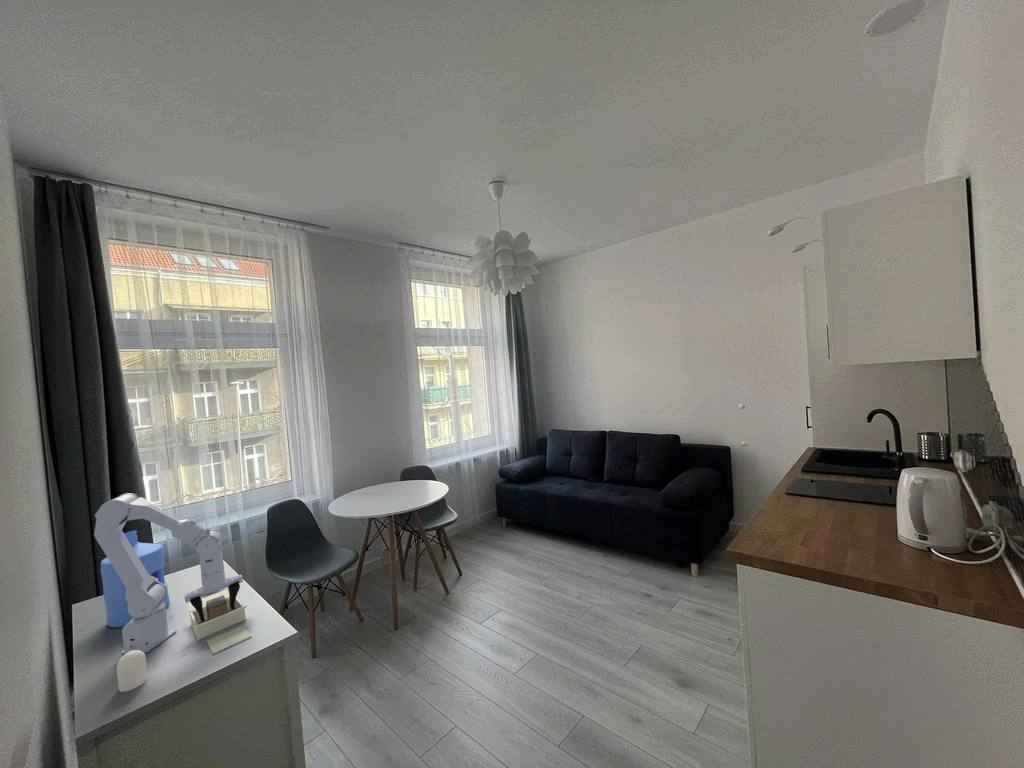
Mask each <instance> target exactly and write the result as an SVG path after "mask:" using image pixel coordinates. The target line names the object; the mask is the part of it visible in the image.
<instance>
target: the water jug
mask: <svg viewBox="0 0 1024 768" xmlns="http://www.w3.org/2000/svg"><path fill="white" fill-rule="evenodd" d="M137 532H138V531H137V530H131V531H128V532H124V534H125V536H126V538H127V539H128V541H129V543H130V544H131V546H132V548H133V549H134V551H135V553H136V554H137V556H138V558H139V559H140V561H141V563H142V564H143V566H144V568H145V569H146V571H147V573H148V574H149V575H151V576H152V574H154V573H155V572H156V575H157V577H156V578H157V581H159V582H160V583H162V584H164V585H165V586H166V588H167V593H166V595H165V597H164V598H163V601H164V603H165V607H166V608H168V607H169V605H170V602H171V601H170V596H169V589H168V584H167V582H166V581H165V580H166V579H165V571H164V567H165V565H166V563H165V550H164V546H163V545H162V544H160V543H151V542H150V543H148V542H139V541H138V535H137ZM100 575H101V579H102V588H103V593H102V594H103V595H102V596H103V600H104V604H105V605H104V606H105V612H106V613H105V614H106V618H105V619H106V621H105V622H106V625H107V626H108V627H110V628H124V626H125V625H126V624H128V623H129V622H130V621H131V619H132V618H133V616H131V615H130V614H129V612H128V602H127V601H126V599H125V597H126V587H125V585H124V584H123V582H122V580H121V579H120V577H119V575H118V574H117V572H116V571H115V569H114V567H113V566H112V564H111V562H110V561H109V559H108V558H107V557H105V558H103V559H102V560H101V562H100Z"/></svg>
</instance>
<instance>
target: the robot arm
mask: <svg viewBox="0 0 1024 768" xmlns="http://www.w3.org/2000/svg"><path fill="white" fill-rule="evenodd" d="M94 517H95V521H96V522H95V526H94V533H93V536H94V538H95V540H96V542H97V543H98V545H99V546H100V548H101V550H102V551H103V552H104V554H105V556H106V558H108V559H109V561H110V562H111V564H112V566H113V567H114V569H115V571H116V572H117V574H118V575H119V577H120V579H121V580H122V582H123V584H124V585H125V587H126V597H125V599H126V601H127V602H128V612H129V614H130V615H131V616H133V618H132V619H131V621H130V622H129V623H128V624H126V625H125V626H124V627H122V630H121V631H122V632H121V634H122V643H123V650H122V651H121V654H126V653H127V652H129V651H132V650H140V651H142V652H144V654H145V653H148V652H149V651H151V650H152V649H154V648H155V647H157V646H158V645H159V644H161V643H162V642H164V641H166V640H167V639H168V638H170V637H171V636H172V635H174V634H175V633H177V632H178V631H177V630H176V629H173V630H171V629H170V630H169V627H168V626H169V625H168V617H167V607H165V603H164V601H163V598H164V597H165V595H166V593H167V588H168V587H167V588H166V586H165V585H164V584H162V583H160V582H159V581H158V578H157V577H156V576H153V575H152V574H151V575H149V574H148V573H147V571H146V569H145V568H144V566H143V564H142V563H141V561H140V559H139V558H138V556H137V554H136V553H135V551H134V549H133V548H132V546H131V544H130V543H129V541H128V539H127V538H126V536H125V532H124V531H123V530H124V529H123V528H124V527H125V526H126V524H127V522H128V521H134V520H141V519H142V520H146V521H148V522H150V523H153V524H155V525H157V526H160V527H161V528H164V529H167V530H169V531H170V532H171V536H172V538H174V539H176V540H179V541H181V542H183V543H185V544H187V545H189V546H191V547H195V548H194V550H195V552H196V553H197V554H198V555H199V565H200V577H201V576H202V579H201V585H203V587H202V586H201V587H198V588H197V589H195V590H193V591H190V592H188V593H186V594H184V602H185V603H187V604H188V603H191V604H192V605H193V607H194V608H195V609H196V610H197V612H198V613H199V616H200V620H201V622H200V623H204V622H205V621H204V615H203V608H202V600H201V599H202V598H201V597H205V596H206V595H209V594H212V593H215V592H217V591H220V590H222V589H225V588H227V589H228V590H229V596H230V608H231V609H232V610H235V609H234V605H235V600H236V597H237V595H238V593H239V590H240V589H241V588H240V587H241V583H243V582H244V579H243V575H242V574H238V575H236V576H235V575H234V576H231V577H228V578H226V574H225V565H224V557H223V552H222V550H223V549H222V545H221V544H222V542H223V540H224V539H223V534H222V533H221V532H220V531H219V530H218V529H212V528H210V527H205V526H203V525H200V524H199V523H196V522H197V520H196V519H194V518H192V519H191V520H190V519H189V518H185V519H179V518H177V517H176V516H174V515H173V514H170V513H168V512H167V511H165V510H164V509H162V508H160V507H158V506H156V505H155V504H153V503H151V502H150V501H149V500H147V499H146V498H145V497H139V495H138V494H135V493H129V492H128V493H127V492H126V493H123V494H120V495H118V496H117V497H115V498H113V499H111V500H108V501H105V503H102V504H101V506H100V507H99V508H98V510H97V512H96V513H95V514H94Z"/></svg>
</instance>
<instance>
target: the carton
mask: <svg viewBox="0 0 1024 768" xmlns="http://www.w3.org/2000/svg"><path fill="white" fill-rule="evenodd" d="M222 595H224V597H225V598H226V601H227V610H228V613H226V614H224V615H221V616H219V617H216V618H214V619H211V620H209V621H208V616H207V607H206V601H209V600H211V599H214V598H217V597H219V596H222ZM201 600H202V608H203V615H204V621H203V622H201V620H200V616H199V613H198V612H197V610H196V609H195V608H194V607H193V605H192V604H191V602H188V603H187V608H188V611H189V617H190V626H191V628H192V631H193V632H194V635H195V636H196V639H197V641H199V640H200V639H203V638H205V637H209V636H210V635H213V634H215V633H217V632H220V631H222V630H224V629H226V628H227V629H228V628H229V627H231V626H233V625H236V624H238V623H241V622H244V621H245V620H246V619H247V617H246V610H245V608H247V607H248V605H244V604H243V603H242V602H241V601H240V599H239V598H238V597H237V596H236V600H235V605H234V609H231V608H230V596H229V590H228V588H227V589H225V590H221V591H219V592H216V593H213V594H211V595H208V596H204V597H203V598H201Z"/></svg>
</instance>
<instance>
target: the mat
mask: <svg viewBox="0 0 1024 768" xmlns="http://www.w3.org/2000/svg"><path fill="white" fill-rule="evenodd" d="M251 638H252V635H251V632H249V630H248V629H247V628H246V627H245V625H244V624H243V625H240V626H238V627H236V628H233V629H231V630H229V631H226V632H224V633H222V634H220V635H218V636H214V637H212V638H210V639H208V640H207V641H206V642H207V645H208V646H209V649H210V651H211V654H212V655H213V654H214V655H216V654H219V653H220V652H219V651H221V650H223V651H224V649H225V650H227V649H229V648H231V647H230V646H232V647H233V645H234V646H236V645H238V644H240V643H242V642H245V641H247V640H249V639H251ZM228 647H229V648H228ZM226 648H227V649H226ZM221 652H222V651H221ZM215 653H216V654H215Z"/></svg>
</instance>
